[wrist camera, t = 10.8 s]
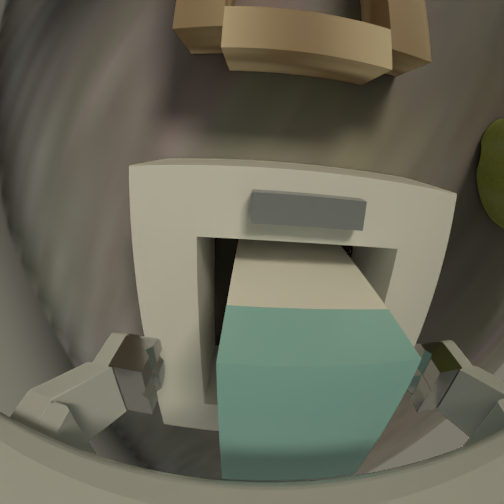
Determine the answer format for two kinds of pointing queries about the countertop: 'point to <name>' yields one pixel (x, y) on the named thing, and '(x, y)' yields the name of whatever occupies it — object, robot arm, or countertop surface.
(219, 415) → the plug
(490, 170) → the plant pot
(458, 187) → the countertop surface
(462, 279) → the countertop surface
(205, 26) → the brown wooden square frame
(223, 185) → the port
